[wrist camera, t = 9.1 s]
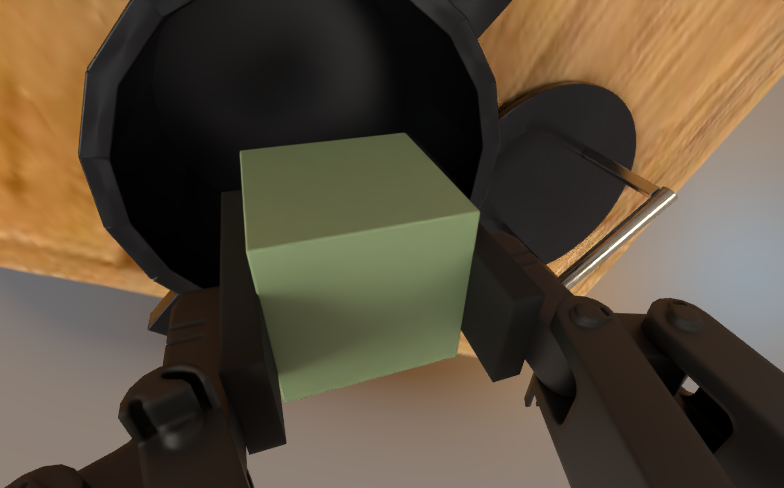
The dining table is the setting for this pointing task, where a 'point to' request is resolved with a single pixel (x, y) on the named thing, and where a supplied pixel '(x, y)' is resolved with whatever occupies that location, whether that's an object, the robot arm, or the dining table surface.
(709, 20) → the dining table surface
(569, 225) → the lid
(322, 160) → the block
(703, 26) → the dining table surface
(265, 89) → the pot
